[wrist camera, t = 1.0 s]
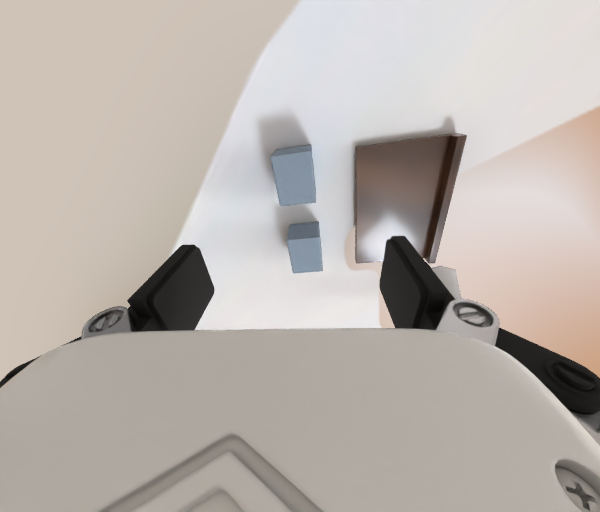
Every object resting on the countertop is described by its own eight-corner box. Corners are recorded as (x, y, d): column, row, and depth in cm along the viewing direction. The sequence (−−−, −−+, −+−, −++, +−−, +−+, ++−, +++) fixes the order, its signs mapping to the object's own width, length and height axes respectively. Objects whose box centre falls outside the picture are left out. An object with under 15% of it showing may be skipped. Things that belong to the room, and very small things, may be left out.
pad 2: (289, 224, 35) (286, 240, 31) (318, 221, 35) (319, 237, 30) (295, 255, 38) (293, 273, 34) (321, 253, 38) (322, 271, 34)
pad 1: (276, 149, 29) (270, 156, 25) (311, 144, 29) (310, 150, 24) (284, 193, 32) (280, 206, 28) (315, 190, 32) (315, 202, 28)
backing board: (355, 146, 28) (359, 149, 26) (455, 132, 27) (467, 135, 25) (355, 260, 38) (357, 268, 36) (428, 254, 37) (435, 263, 35)
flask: (448, 295, 42) (481, 341, 33) (409, 295, 42) (432, 341, 34) (461, 264, 38) (503, 308, 29) (417, 265, 38) (446, 309, 30)
